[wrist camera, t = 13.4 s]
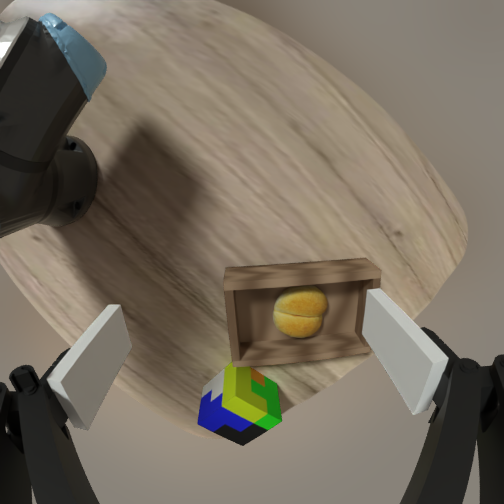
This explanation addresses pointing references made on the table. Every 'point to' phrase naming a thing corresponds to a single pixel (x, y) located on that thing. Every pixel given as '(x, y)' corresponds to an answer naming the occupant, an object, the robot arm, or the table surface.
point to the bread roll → (299, 310)
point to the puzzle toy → (239, 404)
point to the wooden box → (263, 301)
